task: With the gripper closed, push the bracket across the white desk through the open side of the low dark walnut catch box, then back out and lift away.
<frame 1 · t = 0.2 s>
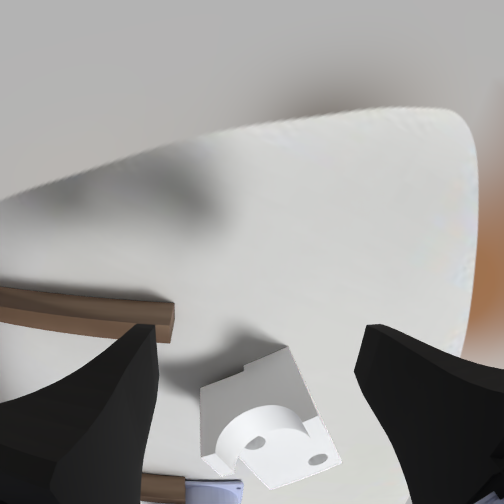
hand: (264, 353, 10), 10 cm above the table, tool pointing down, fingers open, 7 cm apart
bracket: (274, 413, 24), on the table
catch box: (67, 404, 21), on the table
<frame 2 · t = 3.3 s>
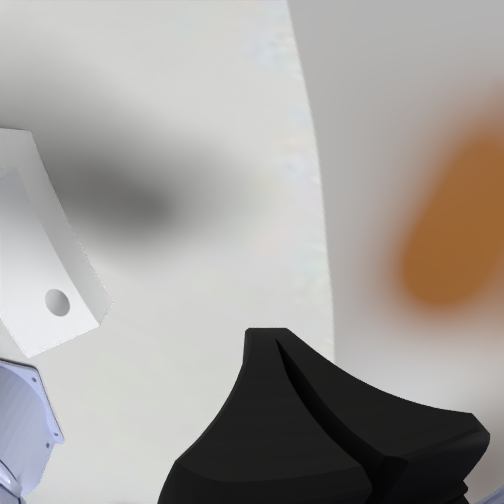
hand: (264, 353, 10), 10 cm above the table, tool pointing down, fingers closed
bracket: (33, 239, 18), on the table
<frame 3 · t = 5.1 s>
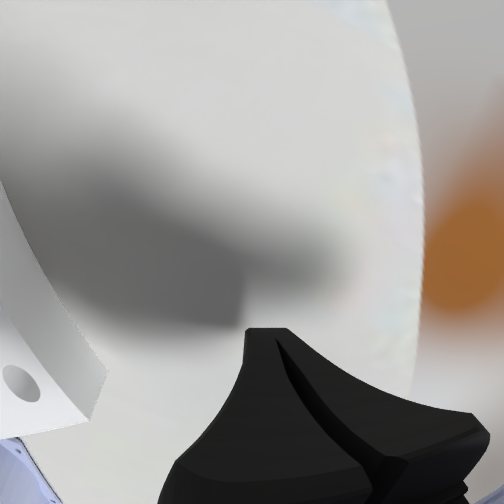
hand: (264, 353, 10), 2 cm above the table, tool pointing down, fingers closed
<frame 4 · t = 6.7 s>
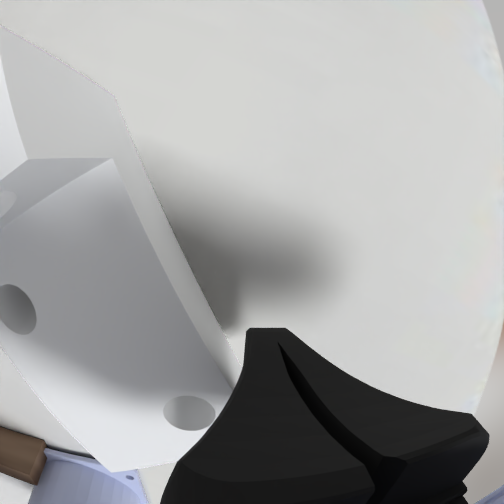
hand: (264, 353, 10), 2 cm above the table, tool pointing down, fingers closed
bracket: (108, 288, 12), on the table, touching gripper
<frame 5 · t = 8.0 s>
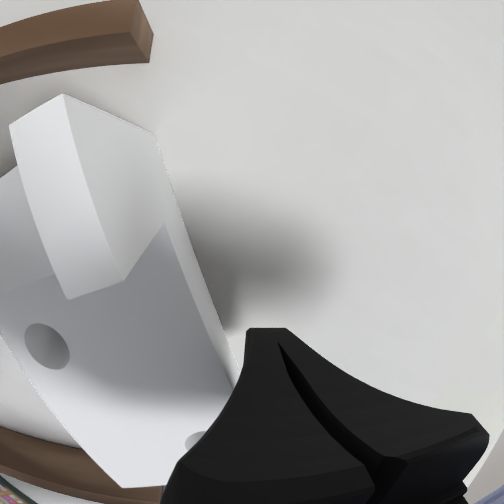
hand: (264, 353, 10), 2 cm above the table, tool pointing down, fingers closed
bracket: (132, 321, 12), on the table, touching gripper
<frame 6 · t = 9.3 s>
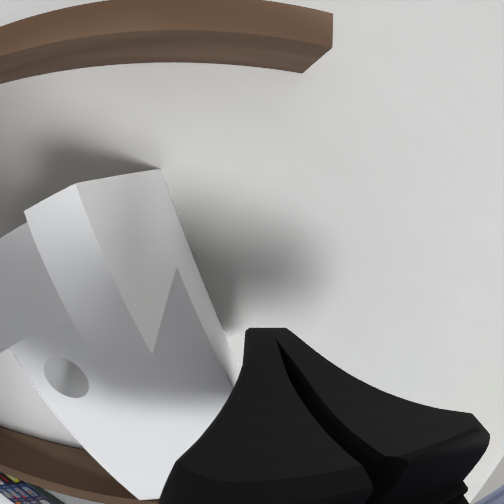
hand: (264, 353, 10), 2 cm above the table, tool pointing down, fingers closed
smartphone: (18, 482, 15), on the table
bracket: (145, 345, 13), on the table
catch box: (43, 307, 11), on the table
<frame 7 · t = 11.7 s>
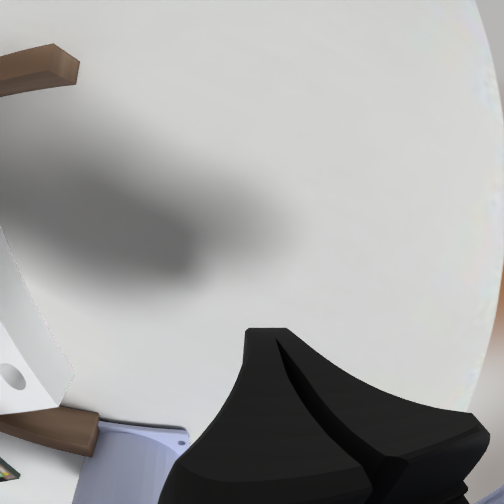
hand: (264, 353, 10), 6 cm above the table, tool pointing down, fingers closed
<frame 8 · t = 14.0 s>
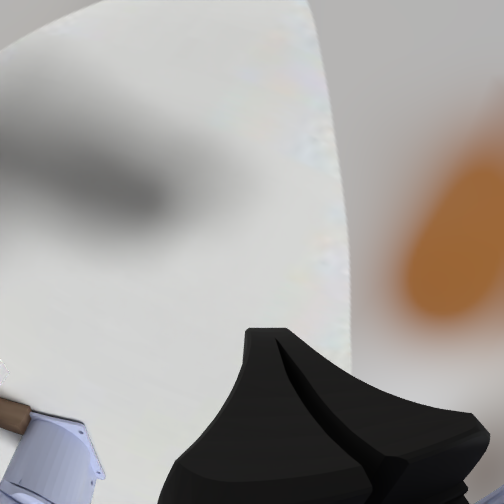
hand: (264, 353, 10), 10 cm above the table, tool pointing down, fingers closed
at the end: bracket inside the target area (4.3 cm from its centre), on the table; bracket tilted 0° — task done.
